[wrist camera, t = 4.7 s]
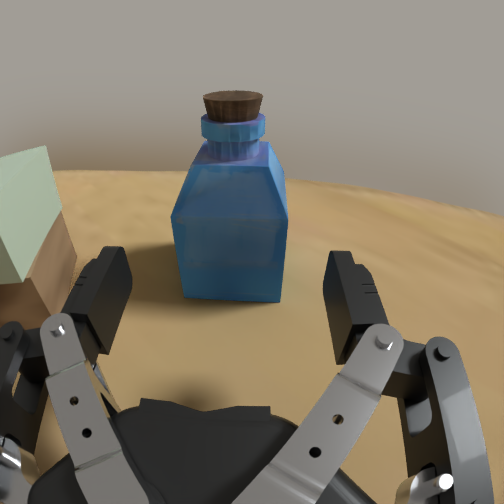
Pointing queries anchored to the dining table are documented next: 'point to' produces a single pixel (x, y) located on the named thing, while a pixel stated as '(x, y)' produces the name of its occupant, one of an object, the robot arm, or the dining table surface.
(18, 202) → the tower top block
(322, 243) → the dining table surface
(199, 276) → the perfume bottle
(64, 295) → the tower base block
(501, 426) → the dining table surface
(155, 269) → the dining table surface
